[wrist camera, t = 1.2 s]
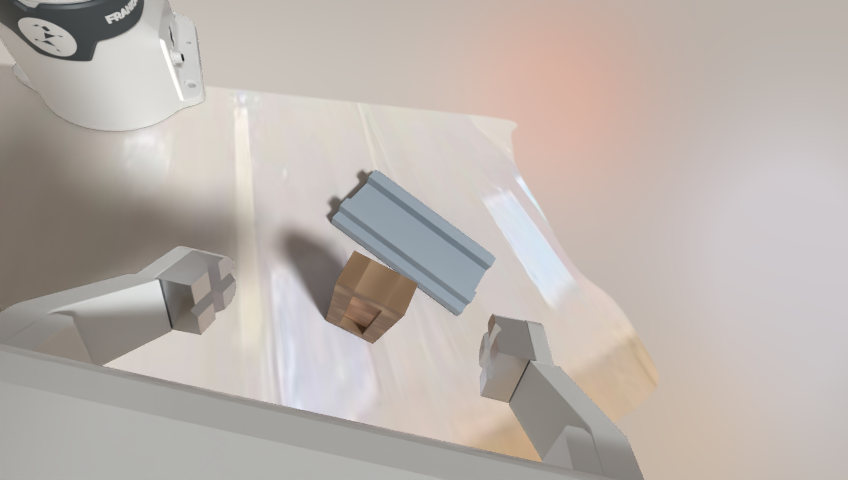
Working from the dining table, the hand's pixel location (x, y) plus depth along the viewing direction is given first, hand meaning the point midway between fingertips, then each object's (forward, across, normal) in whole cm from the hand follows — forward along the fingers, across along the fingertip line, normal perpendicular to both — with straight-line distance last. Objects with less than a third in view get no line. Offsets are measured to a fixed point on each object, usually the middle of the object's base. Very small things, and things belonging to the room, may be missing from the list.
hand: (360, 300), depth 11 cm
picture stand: (+32, 0, +16) cm, 36 cm away
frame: (+21, +4, +22) cm, 31 cm away
